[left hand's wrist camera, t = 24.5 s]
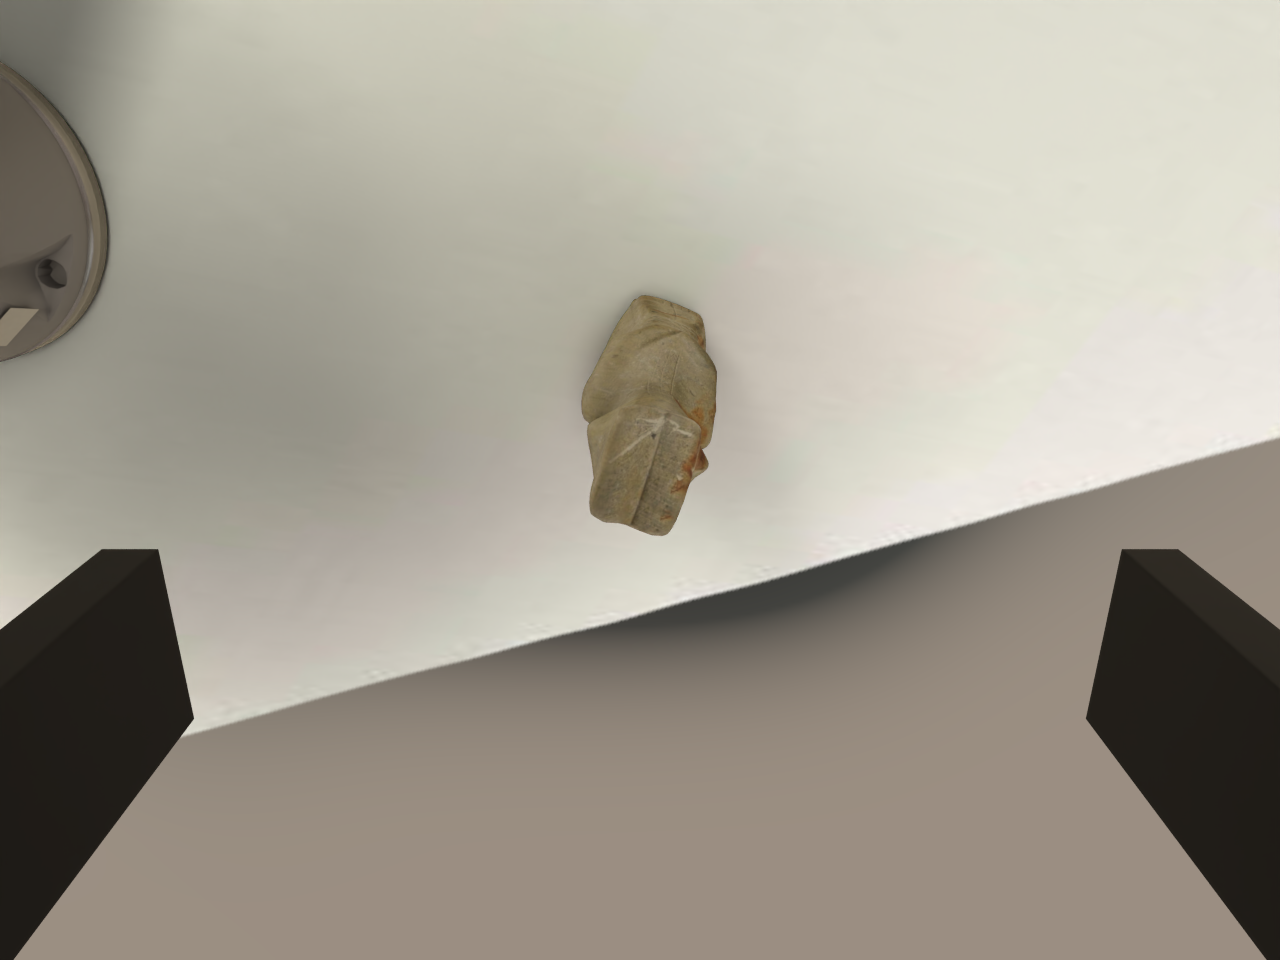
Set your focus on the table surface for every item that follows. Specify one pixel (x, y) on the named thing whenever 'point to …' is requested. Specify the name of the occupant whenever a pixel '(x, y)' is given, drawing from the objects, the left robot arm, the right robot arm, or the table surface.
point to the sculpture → (649, 415)
